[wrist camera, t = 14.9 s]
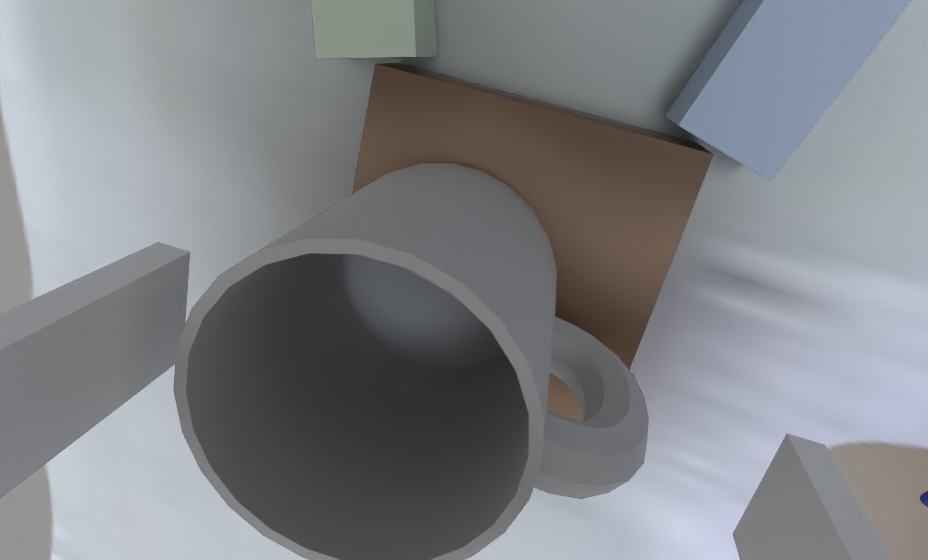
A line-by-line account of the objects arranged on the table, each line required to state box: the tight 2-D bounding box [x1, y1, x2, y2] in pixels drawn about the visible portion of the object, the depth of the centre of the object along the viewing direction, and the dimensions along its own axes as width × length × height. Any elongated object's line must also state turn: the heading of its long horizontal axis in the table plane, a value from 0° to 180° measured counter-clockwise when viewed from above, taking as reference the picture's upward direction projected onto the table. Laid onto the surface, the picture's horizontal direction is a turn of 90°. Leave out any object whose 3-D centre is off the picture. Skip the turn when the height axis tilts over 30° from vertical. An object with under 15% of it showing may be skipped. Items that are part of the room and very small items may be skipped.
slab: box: [352, 63, 713, 421], centre depth 21 cm, size 12×10×2 cm
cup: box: [174, 163, 649, 560], centre depth 16 cm, size 7×10×9 cm
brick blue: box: [665, 0, 912, 181], centre depth 17 cm, size 6×3×3 cm, turn 151°
